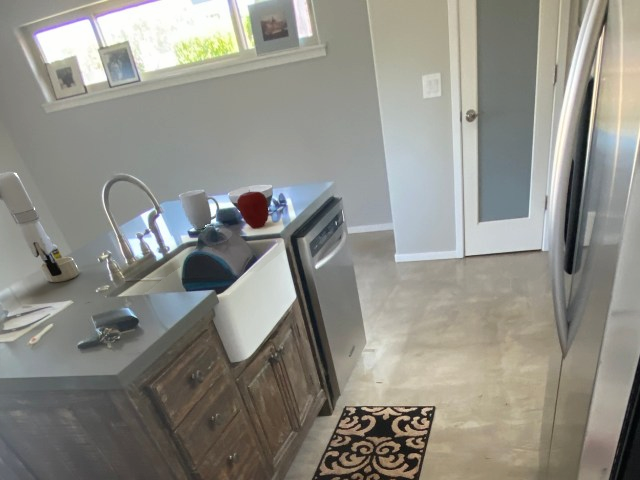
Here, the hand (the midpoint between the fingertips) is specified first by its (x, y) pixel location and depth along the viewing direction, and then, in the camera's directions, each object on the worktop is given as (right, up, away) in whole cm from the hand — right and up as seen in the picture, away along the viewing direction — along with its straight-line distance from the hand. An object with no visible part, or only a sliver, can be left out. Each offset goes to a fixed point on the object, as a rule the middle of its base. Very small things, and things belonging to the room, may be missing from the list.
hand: (57, 274), depth 182 cm
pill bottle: (-8, +8, +15) cm, 19 cm away
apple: (+64, +33, +30) cm, 78 cm away
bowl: (+59, +49, +48) cm, 90 cm away
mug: (+38, +40, +42) cm, 69 cm away
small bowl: (-2, +2, +8) cm, 8 cm away
